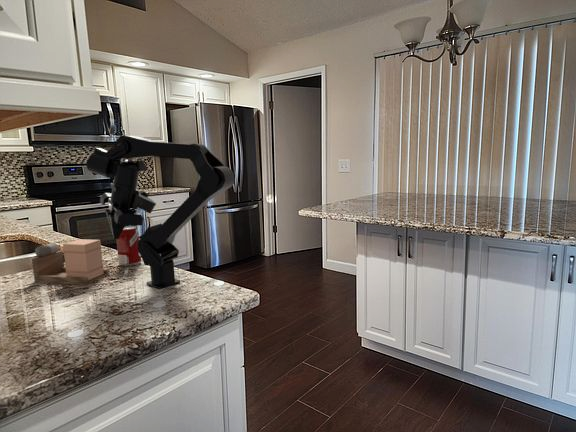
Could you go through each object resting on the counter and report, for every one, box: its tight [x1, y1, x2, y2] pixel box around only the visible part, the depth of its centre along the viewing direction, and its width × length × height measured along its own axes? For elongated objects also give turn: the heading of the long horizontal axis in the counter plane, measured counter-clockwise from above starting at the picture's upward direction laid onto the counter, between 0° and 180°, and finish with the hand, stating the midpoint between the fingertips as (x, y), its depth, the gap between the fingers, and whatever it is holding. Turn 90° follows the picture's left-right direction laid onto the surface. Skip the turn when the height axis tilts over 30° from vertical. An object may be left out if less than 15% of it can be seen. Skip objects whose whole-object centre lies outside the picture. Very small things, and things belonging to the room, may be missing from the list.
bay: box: [31, 242, 110, 286], centre depth 107 cm, size 18×9×10 cm, turn 77°
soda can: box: [115, 225, 142, 267], centre depth 120 cm, size 7×7×12 cm
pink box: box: [62, 238, 104, 280], centre depth 106 cm, size 7×6×10 cm
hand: (115, 238), depth 102 cm, fingers closed
